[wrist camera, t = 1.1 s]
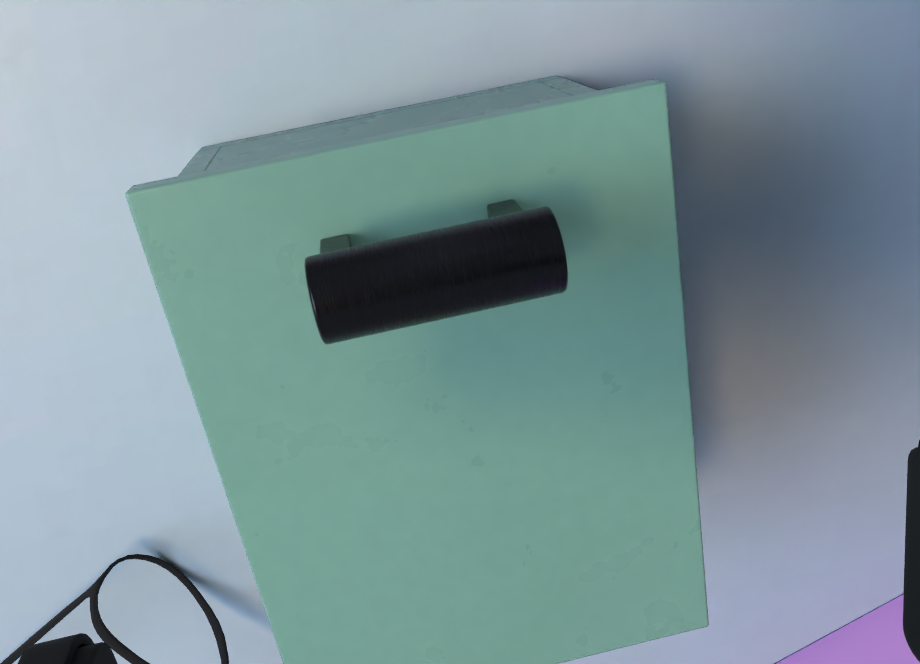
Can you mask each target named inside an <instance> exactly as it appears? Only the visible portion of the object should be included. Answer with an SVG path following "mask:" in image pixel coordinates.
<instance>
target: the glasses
mask: <svg viewBox="0 0 920 664" xmlns="http://www.w3.org/2000/svg"><path fill="white" fill-rule="evenodd" d="M127 559H141V560H147V561H150V562H153V563H155V564H158V565H160V566H161V567H163V568H165V569H167V570H168V571H169V572H171V573H172V574H173V575H175V576H176V577H177V578H178V579H179V580H180V581H181V582H182V583H183V584H184V585H185V586H186V587H187V589H188V590H189V591H190V592H191V593H192V595H193V596H194V597H195V599H196V600H197V602H198V603H199V605H200V606H201V608H202V609H203V611H204V612H205V614H206V616H207V618H208V621H209V623H210V625H211V627H212V629H213V632H214V635H215V638H216V641H217V645H218V649H219V653H220V657H221V664H229V659H228V658H229V657H228V652H227V646H226V641H225V636H224V633H223V631H222V628H221V626H220V623H219V621H218V619H217V618H216V616H215V614H214V612H213V611H212V609H211V607H210V606H209V605H208V603H207V602H206V600H205V599H204V598H203V596H202V595H201V593H200V592H199V591H198V590H197V588H196V587H195V586H194V585H193V583H192V582H191V581H190V580H189V579H188V578H187V577H186V576H185V575H184V574H183V573H182V572H181V571H179V570H178V569H177V568H175V567H174V566H173V565H172V564H170V563H168V562H166V561H164V560H162V559H159V558H156V557H153V556H149V555H141V554H135V555H127V556H125V557H123V558H120V559H118V560H116V561H115V562H114V563H112V564H111V565H110V566H109V567H108V568H107V569H106V571H105V572H104V573H103V574H102V575H101V576H100V577H99V578H98V580H97V581H96V582H95V583H94V584H93V585H92V586H91V587H90V588H89V589H88V590H87V591H86V592H84V593H83V594H82V595H81V596H79V597H78V598H77V599H76V600H74V601H73V602H72V603H71V604H69V605H68V606H67V607H66V608H65V609H63V610H62V611H61V612H60V613H59V614H57V615H56V616H55V617H54V618H53V619H52V620H50V621H49V622H48V623H47V624H46V625H45V626H43V627H42V628H41V629H40V630H39V631H38V632H36V633H35V634H34V635H33V636H32V637H30V638H29V639H28V640H27V641H26V642H25V643H23V644H22V645H21V646H20V647H19V648H18V649H17V650H15V651H14V652H13V653H12V654H11V655H10V656H9V657H8V658H6V659H5V660H4V661H3V662H2V663H1V664H12V663H13V662H14V661H16V660H17V659H18V658H19V657H20V656H21V655H22V654H23V653H24V651H25V650H26V648H28V647H29V646H31V645H34V644H35V643H36V642H37V641H38V640H39V639H40V638H42V637H43V636H44V635H45V634H46V633H47V632H48V631H50V630H51V629H52V628H53V627H54V626H55V625H56V624H57V623H59V622H60V621H61V620H62V619H63V618H64V617H65V616H67V615H68V614H69V613H70V612H71V611H72V610H73V609H75V608H76V607H77V606H78V605H79V604H80V603H81V602H83V601H84V600H85V599H86V598H88V597H90V612H91V619H92V623H93V626H94V628H95V630H96V632H97V634H98V635H99V636H100V638H101V639H102V640H103V641H104V642H105V643H106V644H107V645H108V646H109V647H110V648H111V649H112V650H114V651H115V652H116V653H118V654H119V655H120V656H122V657H123V658H125V659H126V660H127V661H129V662H130V663H131V664H149V663H148V662H146V661H145V660H143V659H142V658H140V657H139V656H137V655H136V654H135V653H134V652H132V651H131V650H130V649H128V648H127V647H126V646H125V645H123V644H122V643H121V642H120V641H119V640H118V639H116V638H115V637H114V636H113V635H112V634H111V632H110V631H109V630H108V629H107V628H106V626H105V625H104V623H103V621H102V619H101V617H100V614H99V610H98V593H99V589H100V587H101V585H102V583H103V581H104V579H105V577H106V576H107V574H108V573H109V572H110V571H111V569H112V568H113V567H114V566H115V565H116V564H118V563H119V562H122V561H124V560H127Z"/></svg>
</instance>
